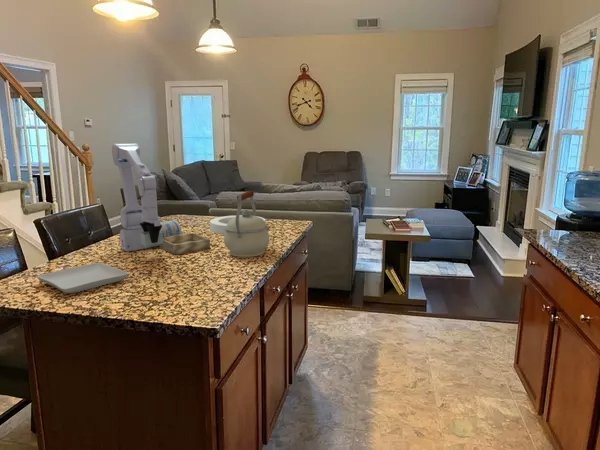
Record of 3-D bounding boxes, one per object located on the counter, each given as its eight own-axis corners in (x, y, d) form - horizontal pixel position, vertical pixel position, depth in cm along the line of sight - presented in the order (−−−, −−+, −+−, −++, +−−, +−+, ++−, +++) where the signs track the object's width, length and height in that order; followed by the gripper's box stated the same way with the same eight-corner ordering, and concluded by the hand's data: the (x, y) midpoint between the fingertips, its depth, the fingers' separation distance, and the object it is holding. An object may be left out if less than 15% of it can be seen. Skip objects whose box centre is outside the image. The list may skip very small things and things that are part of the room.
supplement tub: (185, 234, 199) (157, 241, 188) (175, 243, 205) (147, 250, 194) (176, 215, 201) (148, 221, 189) (166, 225, 207) (138, 231, 195)
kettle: (261, 261, 170) (259, 196, 165) (216, 258, 174) (213, 195, 169) (277, 245, 194) (276, 188, 189) (237, 243, 198) (235, 187, 192)
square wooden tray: (174, 254, 179) (173, 245, 178) (159, 247, 191) (158, 238, 191) (210, 248, 189) (209, 239, 188) (193, 241, 201) (193, 232, 200)
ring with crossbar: (231, 222, 247) (230, 213, 246) (275, 226, 234) (275, 217, 234) (198, 232, 222) (198, 222, 221) (246, 237, 210) (246, 227, 209)
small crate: (145, 247, 171) (144, 234, 170) (141, 245, 175) (140, 232, 174) (163, 244, 175) (162, 232, 174) (158, 242, 179) (157, 230, 178)
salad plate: (99, 269, 161) (98, 260, 161) (131, 282, 148) (130, 272, 147) (36, 285, 145) (35, 275, 145) (65, 300, 132) (64, 289, 131)
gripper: (167, 208, 169) (169, 243, 171) (152, 203, 180) (154, 236, 183) (148, 210, 164) (151, 246, 167) (135, 205, 175) (137, 238, 178)
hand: (151, 241), depth 175 cm, fingers closed on small crate, 5 cm apart
